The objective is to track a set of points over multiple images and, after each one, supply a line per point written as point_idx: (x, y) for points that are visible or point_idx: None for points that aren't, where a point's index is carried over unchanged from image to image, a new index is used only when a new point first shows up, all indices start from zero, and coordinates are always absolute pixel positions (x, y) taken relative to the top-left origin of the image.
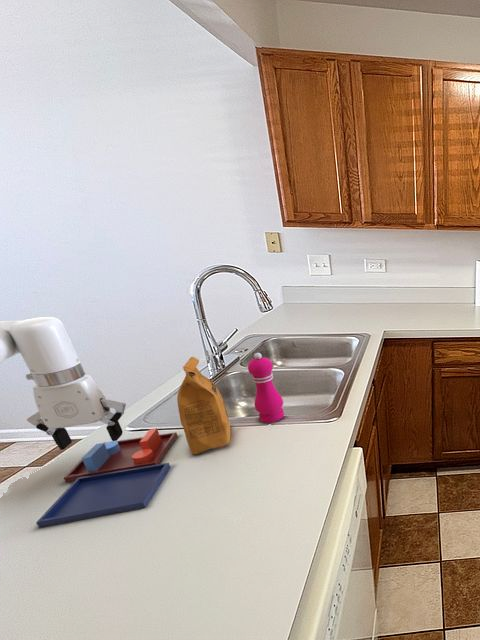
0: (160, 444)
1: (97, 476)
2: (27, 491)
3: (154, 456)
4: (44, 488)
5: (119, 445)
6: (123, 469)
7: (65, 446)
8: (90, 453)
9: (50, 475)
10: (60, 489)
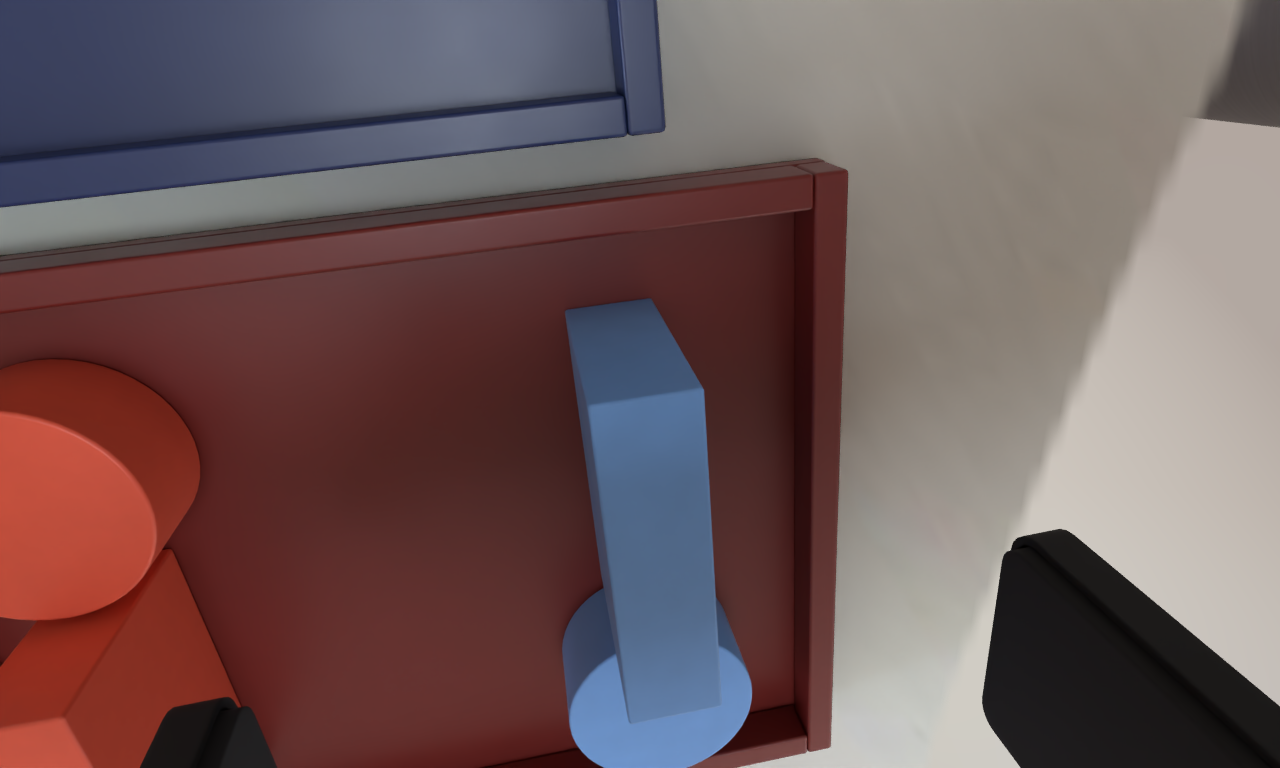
0: None
1: (405, 115)
2: (1140, 77)
3: None
4: (995, 96)
5: None
6: (151, 248)
7: (1015, 594)
8: (653, 504)
9: (1036, 342)
10: (810, 23)
